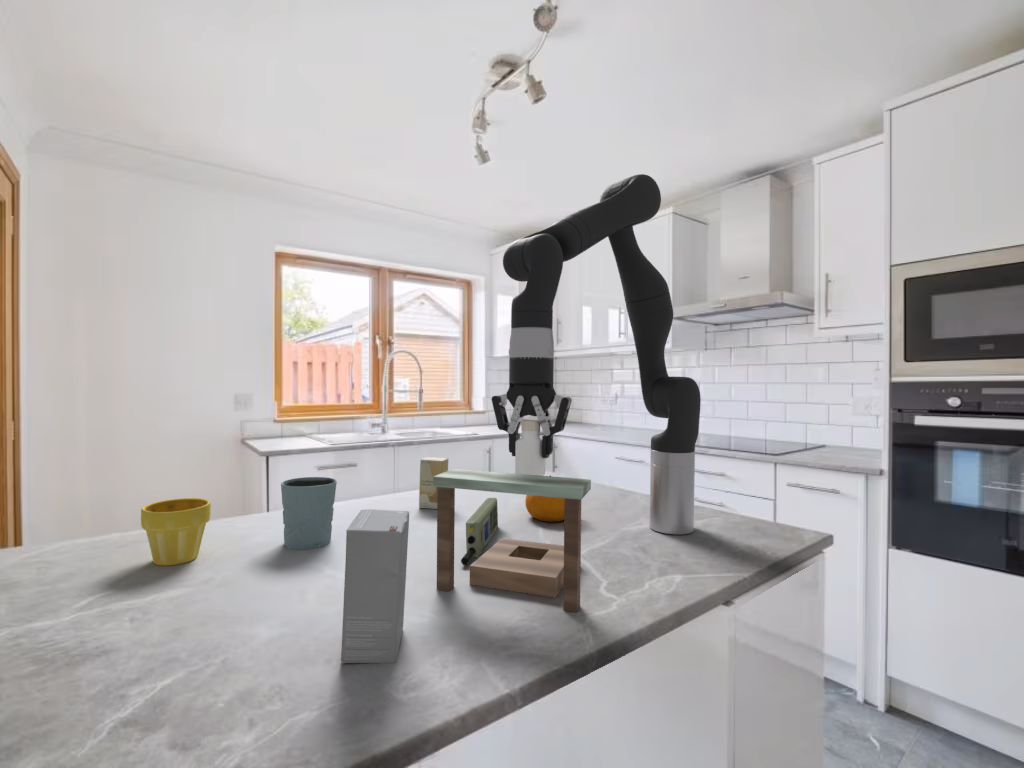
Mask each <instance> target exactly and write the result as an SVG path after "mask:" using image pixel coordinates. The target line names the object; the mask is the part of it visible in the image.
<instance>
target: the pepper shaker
mask: <svg viewBox="0 0 1024 768" xmlns="http://www.w3.org/2000/svg"><path fill="white" fill-rule="evenodd" d="M520 427H521V428H520V429H521V437H520V439H518V440H516V447H515V456H514V457H515V458H514V463H515V464H514V472H515V473H514V474H525V475H538V476H546V475H545V474H546V458H542V438H541V437H540V436H541V435H540V432H541V424H540V423H539V421H538V419H530V418H529V419H527V418H526V419H525V418H524V419H523V420H522V422H521V425H520Z"/></svg>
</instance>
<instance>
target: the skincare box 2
mask: <svg viewBox="0 0 1024 768" xmlns="http://www.w3.org/2000/svg"><path fill="white" fill-rule="evenodd" d="M447 471H449V458H448V457H447V458H446V457H433V456H426V457H423V458H421V459H420V465H419V491H418V493H419V494H418V495H419V496H418V508H419V509H433V510H437V487H434V486H433V476H436V475H439V474H441V473H444V472H447Z"/></svg>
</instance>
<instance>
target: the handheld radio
mask: <svg viewBox="0 0 1024 768" xmlns="http://www.w3.org/2000/svg"><path fill="white" fill-rule="evenodd" d="M498 527H499V518H498V499H497V497H487V498H486V499H485V500H484V501H483V502H482V503H481V504H480V505H479V507H478V508H477V509H476V510H475V512H474V513H473V514H472V515H470V517H469V518H468V519H467V520H466V522H465V539H466V540H465V542H466V548H465V549H466V553H464V555H463V556H462V558H461V560H460V563H461V564H462V565H463V566H466V565H468V564H469V562H470V561H471V559H472V558H473V557H475V556H478V557H480V556H481V553H482V552H483V550H484V549H485V548H486V546H487V545H488V543H489V541H490V539H491V538H492V537H493V535H494V534H495V532H496V530H497V528H498ZM493 533H494V534H493Z"/></svg>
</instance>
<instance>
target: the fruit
mask: <svg viewBox="0 0 1024 768" xmlns="http://www.w3.org/2000/svg"><path fill="white" fill-rule="evenodd" d="M564 503H565V498H557V497H546V496H535V495H526V496H525V508H526V510H527V512H528V514H529V515H530V516H531V517H532V518H534V519H536V520H538V521H541V522H542V521H543V522H561V521H564Z"/></svg>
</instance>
